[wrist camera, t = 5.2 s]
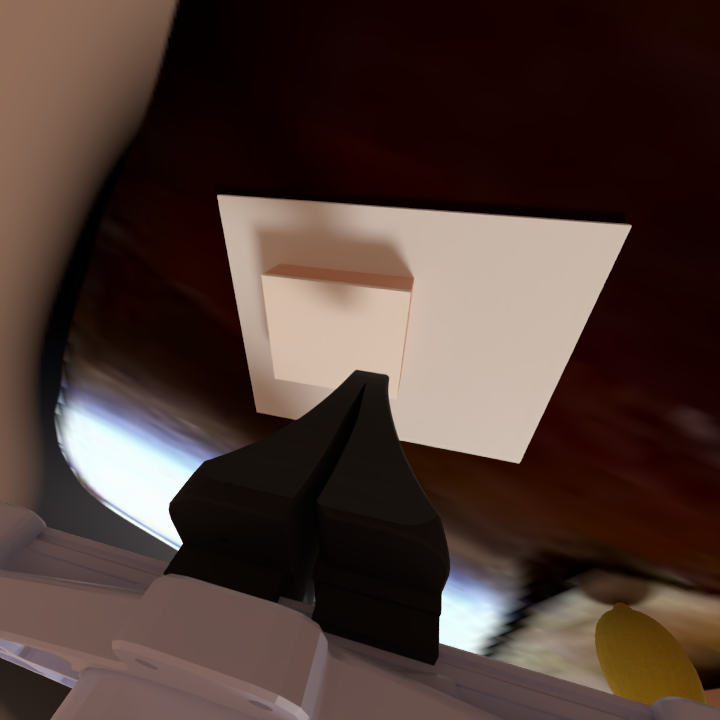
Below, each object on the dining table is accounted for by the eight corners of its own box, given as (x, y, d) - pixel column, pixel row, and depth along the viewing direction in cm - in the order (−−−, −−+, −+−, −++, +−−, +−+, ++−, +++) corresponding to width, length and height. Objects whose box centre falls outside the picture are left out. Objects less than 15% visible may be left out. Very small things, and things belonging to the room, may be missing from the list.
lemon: (628, 625, 27) (687, 774, 21) (566, 602, 28) (604, 741, 21) (681, 603, 24) (769, 769, 18) (610, 577, 24) (671, 731, 18)
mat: (518, 458, 20) (519, 463, 20) (259, 408, 23) (256, 412, 23) (626, 224, 13) (631, 225, 12) (221, 194, 16) (216, 195, 15)
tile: (396, 399, 17) (274, 378, 18) (400, 378, 19) (288, 360, 20) (410, 292, 14) (261, 274, 15) (414, 278, 15) (279, 263, 16)
